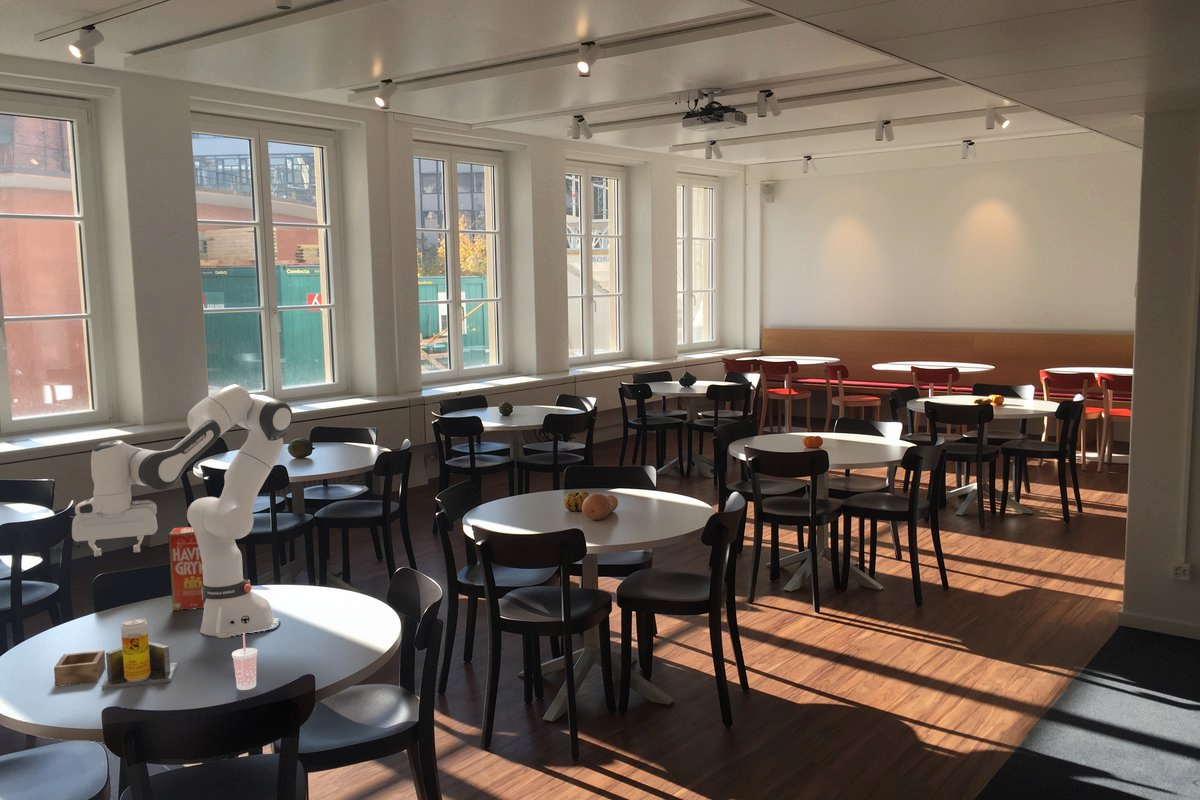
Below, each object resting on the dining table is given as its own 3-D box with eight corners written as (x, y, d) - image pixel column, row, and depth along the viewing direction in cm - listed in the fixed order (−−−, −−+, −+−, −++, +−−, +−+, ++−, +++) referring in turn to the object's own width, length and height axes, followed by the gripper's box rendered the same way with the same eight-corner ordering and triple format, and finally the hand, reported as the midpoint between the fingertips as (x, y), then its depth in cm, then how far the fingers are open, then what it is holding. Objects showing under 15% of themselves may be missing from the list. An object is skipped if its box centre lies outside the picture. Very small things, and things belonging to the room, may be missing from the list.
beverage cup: (262, 681, 250) (259, 628, 249) (255, 690, 244) (252, 636, 243) (238, 682, 250) (235, 629, 248) (230, 691, 244) (227, 637, 242)
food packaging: (171, 611, 308) (166, 533, 306) (178, 602, 317) (173, 526, 315) (216, 608, 311) (211, 531, 308) (221, 599, 320) (217, 524, 317)
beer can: (125, 684, 247) (121, 626, 245) (123, 676, 252) (120, 620, 250) (151, 679, 250) (148, 622, 248) (149, 671, 255) (146, 616, 253)
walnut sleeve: (105, 668, 261) (104, 650, 260) (97, 682, 251) (96, 663, 251) (64, 672, 258) (63, 654, 257) (55, 686, 249) (54, 667, 248)
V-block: (176, 665, 262) (175, 637, 261) (170, 681, 251) (168, 651, 250) (111, 673, 257) (109, 643, 256) (102, 689, 246) (99, 659, 245)
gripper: (157, 496, 263) (161, 546, 265) (73, 503, 257) (77, 554, 259) (154, 501, 257) (158, 552, 259) (67, 508, 251) (72, 561, 253)
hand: (117, 553), depth 259 cm, fingers open, 8 cm apart
